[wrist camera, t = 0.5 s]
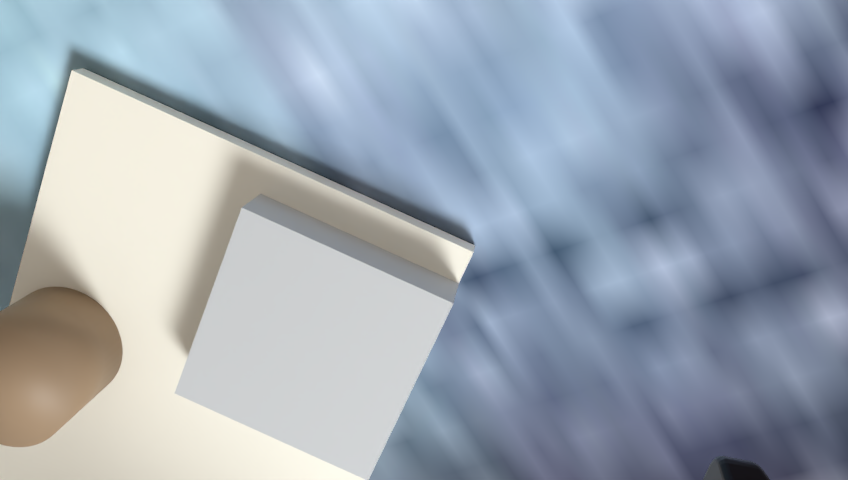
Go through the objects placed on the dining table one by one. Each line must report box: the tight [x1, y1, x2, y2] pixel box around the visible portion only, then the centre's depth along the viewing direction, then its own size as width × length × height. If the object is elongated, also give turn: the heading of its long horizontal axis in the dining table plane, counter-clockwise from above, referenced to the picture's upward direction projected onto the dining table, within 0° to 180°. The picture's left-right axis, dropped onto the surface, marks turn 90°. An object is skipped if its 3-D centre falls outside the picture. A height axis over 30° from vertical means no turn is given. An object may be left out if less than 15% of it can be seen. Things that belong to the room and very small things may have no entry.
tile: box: [0, 68, 475, 480], centre depth 23 cm, size 16×12×4 cm
